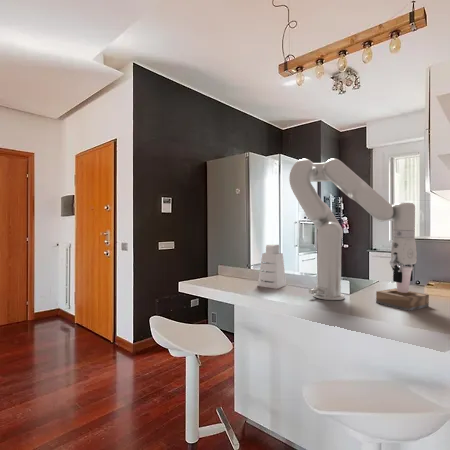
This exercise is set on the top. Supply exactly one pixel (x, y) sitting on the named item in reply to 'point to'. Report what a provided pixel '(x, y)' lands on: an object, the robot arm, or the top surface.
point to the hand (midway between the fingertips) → (402, 280)
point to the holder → (402, 299)
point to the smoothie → (404, 279)
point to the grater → (272, 268)
